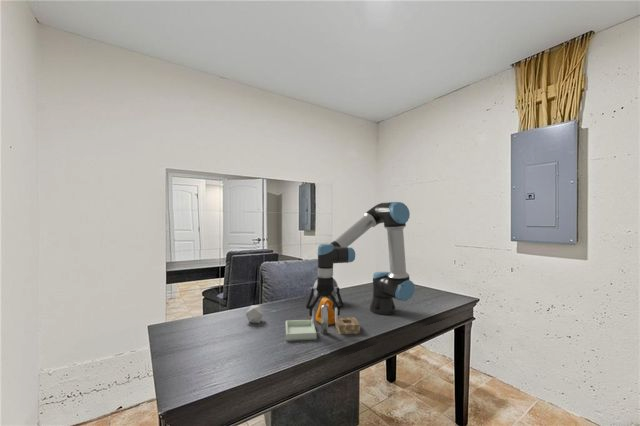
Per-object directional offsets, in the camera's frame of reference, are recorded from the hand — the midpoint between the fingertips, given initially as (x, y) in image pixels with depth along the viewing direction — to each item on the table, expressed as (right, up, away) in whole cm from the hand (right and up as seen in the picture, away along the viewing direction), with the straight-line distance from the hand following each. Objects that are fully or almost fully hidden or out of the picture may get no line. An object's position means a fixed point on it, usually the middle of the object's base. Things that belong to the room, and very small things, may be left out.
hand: (324, 322), depth 131 cm
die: (-36, -5, +13) cm, 39 cm away
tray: (-12, -5, 0) cm, 13 cm away
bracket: (+2, -6, +14) cm, 15 cm away
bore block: (+11, -5, +5) cm, 13 cm away
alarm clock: (+1, -6, +46) cm, 46 cm away
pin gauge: (0, -5, 0) cm, 5 cm away
